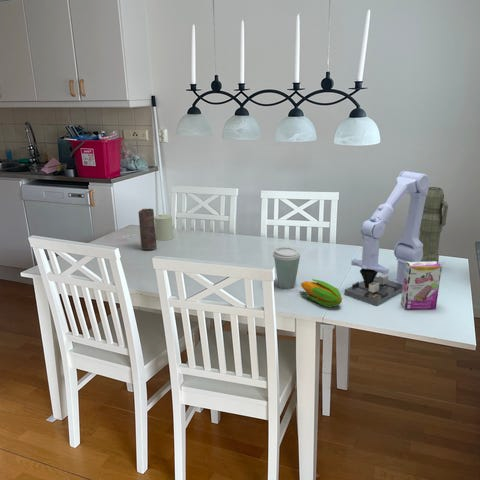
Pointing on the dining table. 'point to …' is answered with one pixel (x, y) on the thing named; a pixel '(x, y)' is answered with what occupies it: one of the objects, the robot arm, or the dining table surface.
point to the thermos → (432, 223)
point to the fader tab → (373, 287)
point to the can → (163, 227)
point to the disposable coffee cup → (286, 266)
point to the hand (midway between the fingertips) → (368, 287)
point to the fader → (383, 279)
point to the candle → (147, 229)
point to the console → (377, 297)
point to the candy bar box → (420, 285)
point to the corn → (322, 293)
